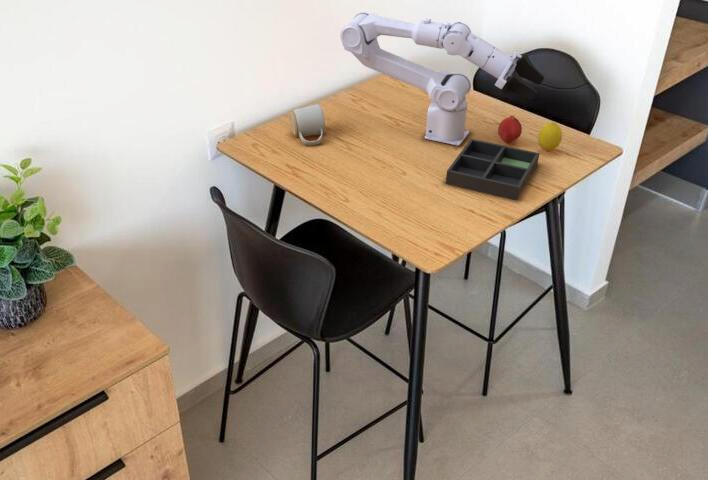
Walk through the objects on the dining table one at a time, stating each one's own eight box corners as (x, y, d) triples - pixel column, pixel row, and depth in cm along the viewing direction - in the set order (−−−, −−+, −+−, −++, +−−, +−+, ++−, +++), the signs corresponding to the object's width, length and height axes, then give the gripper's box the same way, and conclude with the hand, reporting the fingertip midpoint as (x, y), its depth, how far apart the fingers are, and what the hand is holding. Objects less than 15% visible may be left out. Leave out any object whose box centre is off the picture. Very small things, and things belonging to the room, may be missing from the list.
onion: (493, 138, 197) (497, 109, 192) (515, 136, 197) (519, 108, 192) (500, 149, 192) (504, 120, 187) (522, 147, 193) (527, 118, 188)
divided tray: (445, 183, 181) (446, 170, 179) (469, 150, 192) (470, 138, 190) (517, 200, 174) (519, 187, 172) (537, 165, 186) (539, 153, 184)
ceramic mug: (289, 129, 204) (287, 103, 200) (318, 125, 206) (317, 98, 201) (299, 149, 197) (298, 122, 192) (329, 144, 198) (329, 117, 193)
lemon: (559, 157, 188) (565, 128, 183) (536, 156, 189) (541, 127, 184) (558, 146, 192) (563, 117, 187) (535, 145, 193) (540, 116, 188)
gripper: (488, 58, 174) (540, 89, 173) (506, 32, 183) (554, 61, 183) (473, 82, 179) (523, 112, 179) (491, 55, 189) (538, 84, 188)
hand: (538, 88), depth 181 cm, fingers open, 7 cm apart
